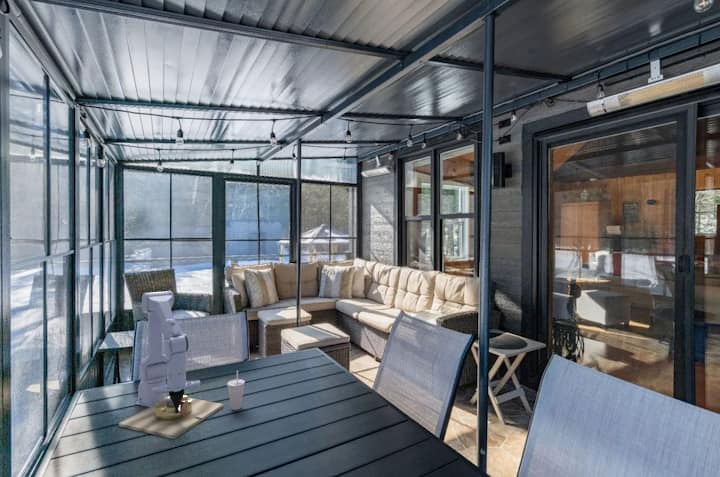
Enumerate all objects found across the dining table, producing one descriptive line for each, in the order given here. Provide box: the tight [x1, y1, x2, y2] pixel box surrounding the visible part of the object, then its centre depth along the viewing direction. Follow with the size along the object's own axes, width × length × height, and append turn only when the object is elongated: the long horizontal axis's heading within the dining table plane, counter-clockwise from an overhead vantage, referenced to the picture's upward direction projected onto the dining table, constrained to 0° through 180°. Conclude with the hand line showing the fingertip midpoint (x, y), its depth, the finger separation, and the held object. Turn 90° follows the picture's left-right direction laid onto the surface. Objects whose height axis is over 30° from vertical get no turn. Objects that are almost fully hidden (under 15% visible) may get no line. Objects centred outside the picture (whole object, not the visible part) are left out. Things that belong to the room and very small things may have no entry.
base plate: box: [118, 397, 224, 440], centre depth 139 cm, size 24×24×6 cm
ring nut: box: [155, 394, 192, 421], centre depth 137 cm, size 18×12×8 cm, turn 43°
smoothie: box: [226, 370, 246, 411], centre depth 146 cm, size 6×6×14 cm
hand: (176, 412), depth 130 cm, fingers closed
